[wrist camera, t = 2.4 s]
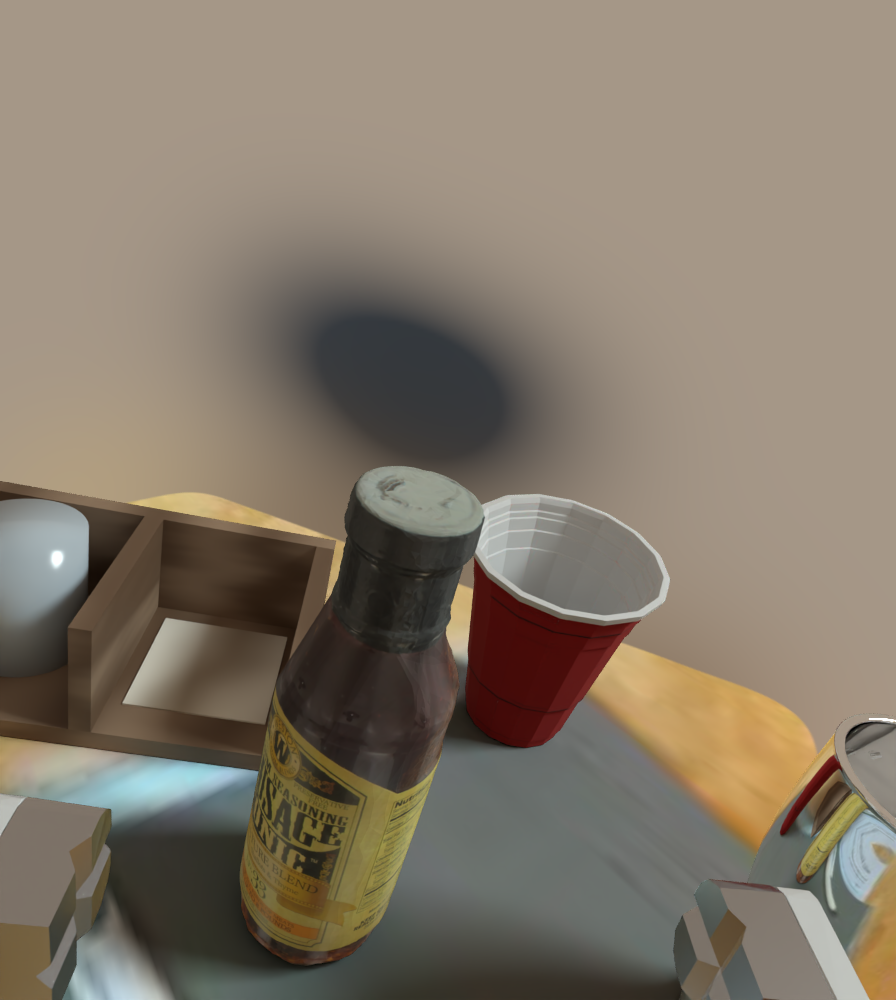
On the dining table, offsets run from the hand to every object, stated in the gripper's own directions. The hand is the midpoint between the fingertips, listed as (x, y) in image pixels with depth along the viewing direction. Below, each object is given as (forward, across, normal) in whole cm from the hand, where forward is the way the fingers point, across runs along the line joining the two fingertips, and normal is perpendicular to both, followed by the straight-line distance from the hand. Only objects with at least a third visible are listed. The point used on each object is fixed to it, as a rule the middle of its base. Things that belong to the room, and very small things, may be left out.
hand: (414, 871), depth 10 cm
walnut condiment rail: (+25, +12, +20) cm, 35 cm away
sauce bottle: (+13, 0, +21) cm, 25 cm away
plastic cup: (+26, -10, +21) cm, 35 cm away
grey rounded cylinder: (+25, +17, +19) cm, 36 cm away
